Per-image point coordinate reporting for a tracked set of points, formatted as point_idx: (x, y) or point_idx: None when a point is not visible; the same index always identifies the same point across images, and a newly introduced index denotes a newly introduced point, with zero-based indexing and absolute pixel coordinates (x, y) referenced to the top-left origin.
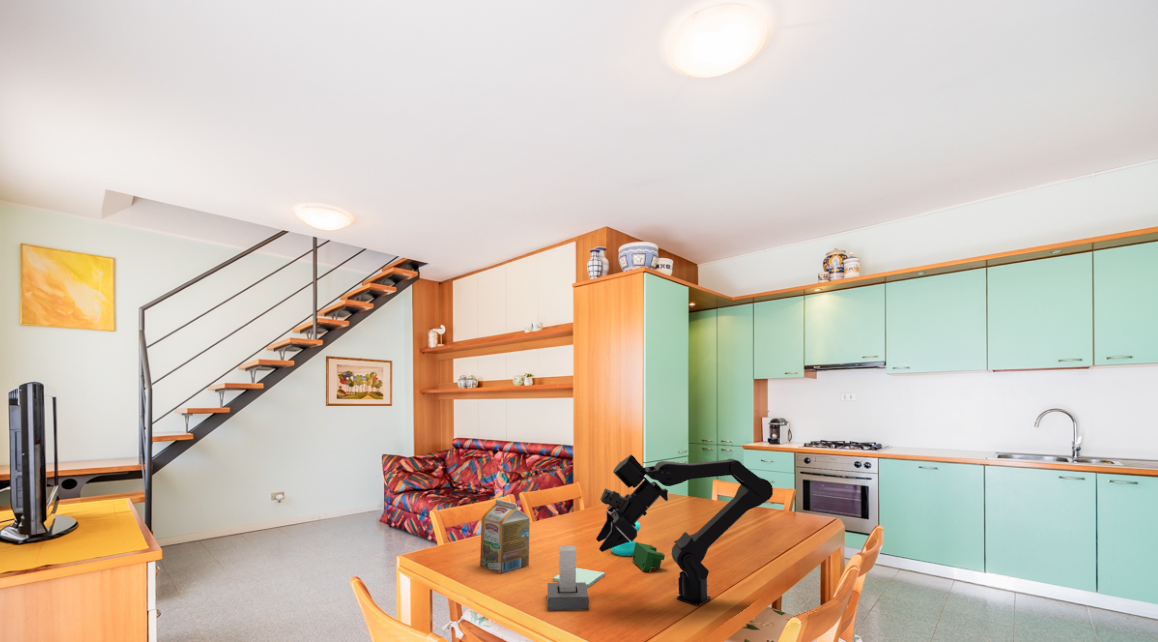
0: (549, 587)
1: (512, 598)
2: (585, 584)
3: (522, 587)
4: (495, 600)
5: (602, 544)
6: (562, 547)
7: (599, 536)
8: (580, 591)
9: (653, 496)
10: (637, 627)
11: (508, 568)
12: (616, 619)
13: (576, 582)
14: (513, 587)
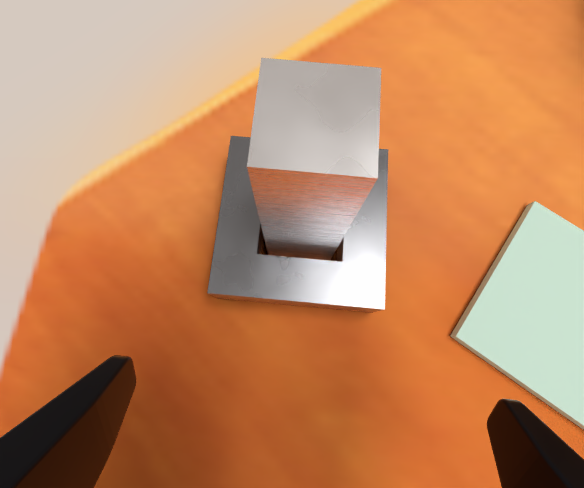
0: None
1: (357, 65)
2: (357, 304)
3: (457, 98)
4: (345, 20)
5: (58, 397)
6: (341, 81)
7: (522, 447)
8: (272, 267)
9: None
10: None
11: None
12: None
13: (482, 290)
14: (457, 71)
